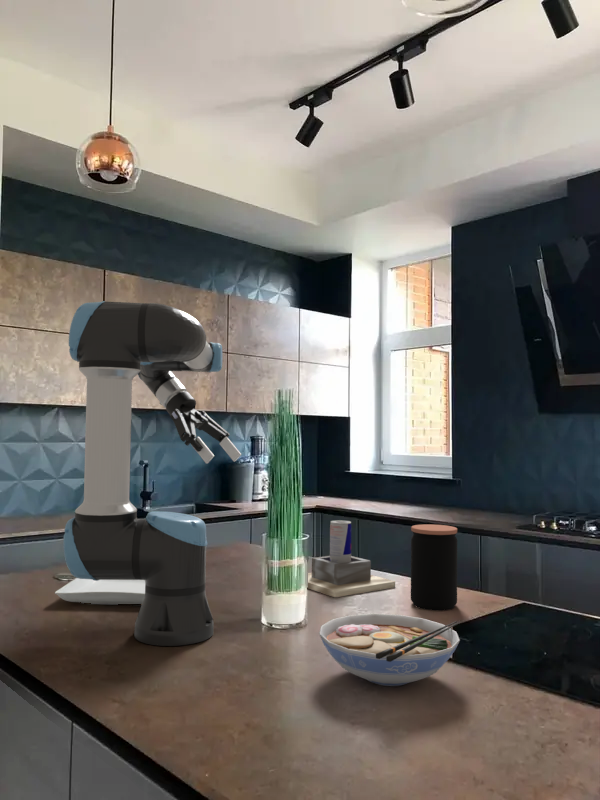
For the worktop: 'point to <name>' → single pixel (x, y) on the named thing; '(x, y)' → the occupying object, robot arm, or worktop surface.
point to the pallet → (344, 577)
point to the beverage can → (340, 541)
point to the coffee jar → (434, 567)
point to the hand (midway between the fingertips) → (224, 458)
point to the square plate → (103, 591)
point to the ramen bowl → (389, 646)
